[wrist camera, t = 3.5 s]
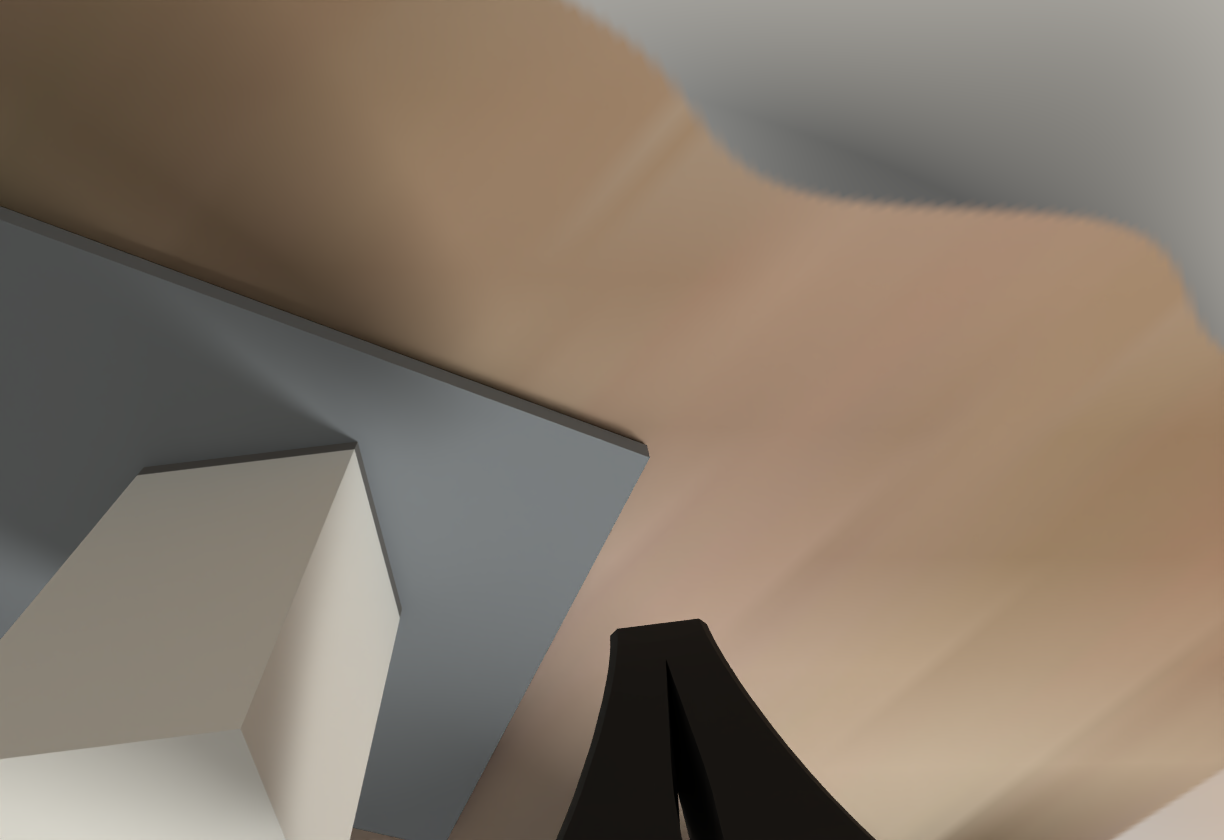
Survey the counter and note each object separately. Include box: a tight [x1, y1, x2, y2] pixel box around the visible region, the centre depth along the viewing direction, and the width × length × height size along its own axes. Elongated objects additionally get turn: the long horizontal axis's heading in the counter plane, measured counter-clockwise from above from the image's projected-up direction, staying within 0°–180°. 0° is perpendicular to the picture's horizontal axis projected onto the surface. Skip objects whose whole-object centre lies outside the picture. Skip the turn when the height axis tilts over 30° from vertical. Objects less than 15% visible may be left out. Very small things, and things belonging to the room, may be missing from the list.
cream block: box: [0, 442, 402, 840], centre depth 14 cm, size 4×4×7 cm
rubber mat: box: [0, 206, 650, 840], centre depth 17 cm, size 16×12×1 cm
